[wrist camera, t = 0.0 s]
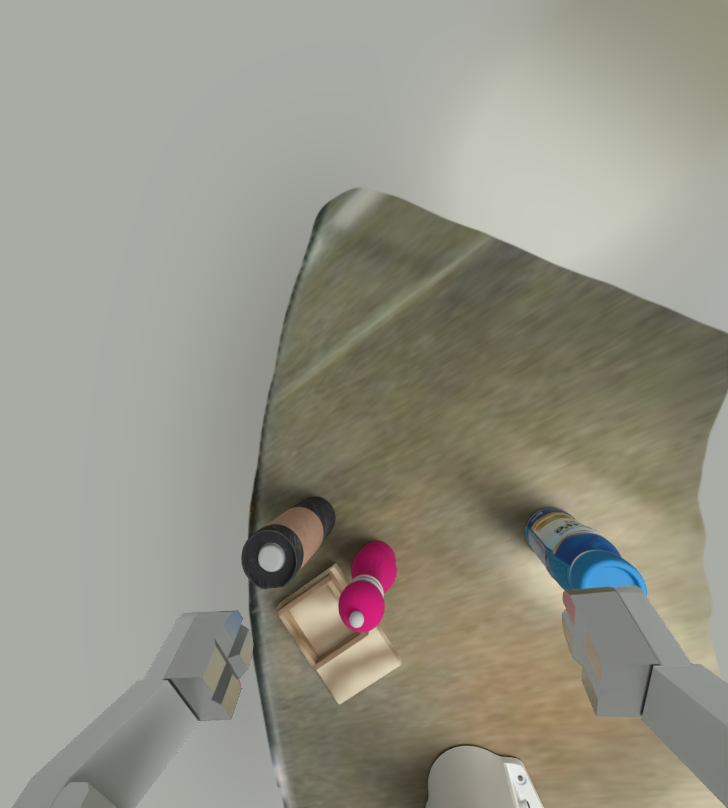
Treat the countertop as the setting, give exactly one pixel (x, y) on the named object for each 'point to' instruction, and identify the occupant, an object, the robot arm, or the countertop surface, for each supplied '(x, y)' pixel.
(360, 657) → the mill holder
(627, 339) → the countertop surface
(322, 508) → the travel mug
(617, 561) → the beverage bottle
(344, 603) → the pepper mill
